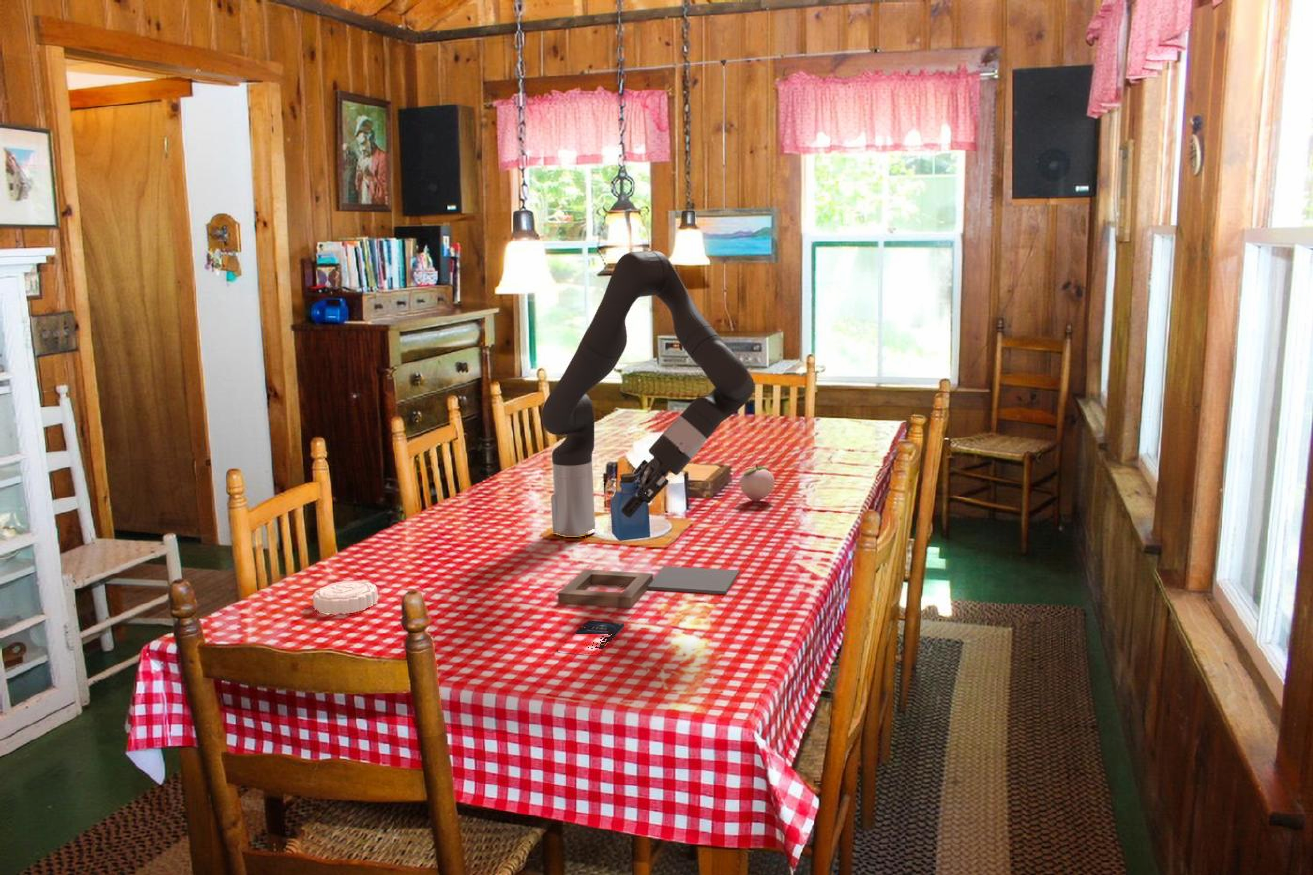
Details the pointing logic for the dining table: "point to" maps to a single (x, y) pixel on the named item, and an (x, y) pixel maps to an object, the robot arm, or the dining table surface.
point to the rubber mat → (694, 580)
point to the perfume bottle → (621, 523)
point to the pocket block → (579, 594)
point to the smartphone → (601, 630)
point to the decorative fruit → (757, 483)
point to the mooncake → (345, 597)
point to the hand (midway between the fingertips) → (621, 510)
